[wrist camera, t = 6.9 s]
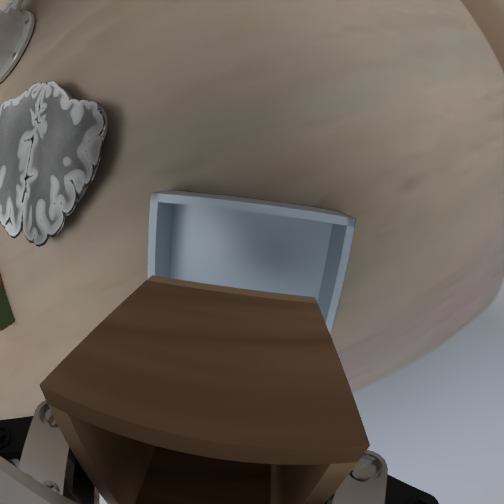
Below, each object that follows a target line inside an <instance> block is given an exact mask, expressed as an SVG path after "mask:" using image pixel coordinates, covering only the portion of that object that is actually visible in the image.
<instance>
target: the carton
mask: <svg viewBox="0 0 504 504" xmlns="http://www.w3.org/2000/svg"><path fill="white" fill-rule="evenodd" d="M14 321H15V319H14V316H13V313H12V311H11V308H10V305H9V302H8V299H7V296H6V292H5V289H4V286H3V282H2V278H1V274H0V331H2V330H4V329H5V328H7V327H8V326H10V325H11V324H12V323H13V322H14Z"/></svg>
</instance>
